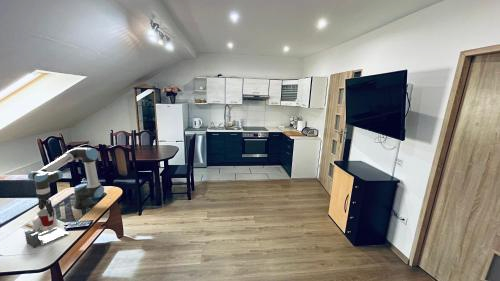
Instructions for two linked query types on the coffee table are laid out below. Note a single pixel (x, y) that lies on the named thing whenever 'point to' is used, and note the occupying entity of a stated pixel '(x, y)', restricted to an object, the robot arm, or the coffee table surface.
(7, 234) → the coffee table surface
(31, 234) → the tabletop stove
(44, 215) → the plastic cup
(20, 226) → the coffee table surface
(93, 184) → the robot arm
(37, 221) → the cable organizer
